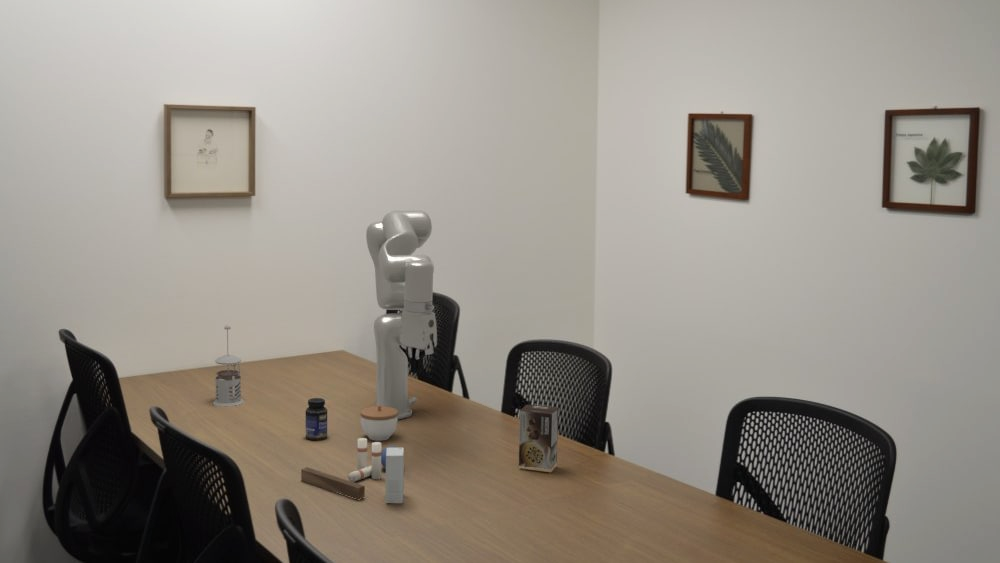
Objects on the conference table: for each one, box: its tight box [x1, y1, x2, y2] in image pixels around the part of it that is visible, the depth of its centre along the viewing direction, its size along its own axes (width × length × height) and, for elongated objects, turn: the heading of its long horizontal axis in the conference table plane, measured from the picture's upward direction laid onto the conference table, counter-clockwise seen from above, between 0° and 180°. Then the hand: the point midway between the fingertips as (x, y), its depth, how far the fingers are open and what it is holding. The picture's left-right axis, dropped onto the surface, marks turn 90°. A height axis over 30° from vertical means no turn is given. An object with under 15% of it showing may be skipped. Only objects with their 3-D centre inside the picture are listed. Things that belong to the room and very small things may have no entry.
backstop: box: [300, 466, 366, 500], centre depth 235 cm, size 2×20×3 cm, turn 53°
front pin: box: [348, 464, 372, 483], centre depth 243 cm, size 2×2×9 cm
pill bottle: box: [305, 397, 328, 441], centre depth 274 cm, size 6×6×11 cm
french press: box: [212, 325, 245, 407], centre depth 306 cm, size 10×12×25 cm
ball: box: [381, 446, 398, 469], centre depth 250 cm, size 6×6×6 cm
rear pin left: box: [371, 441, 383, 480], centre depth 243 cm, size 2×2×9 cm
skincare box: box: [385, 447, 405, 504], centre depth 229 cm, size 6×4×12 cm
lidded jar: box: [359, 405, 399, 442], centre depth 276 cm, size 11×11×9 cm
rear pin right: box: [356, 437, 368, 470], centre depth 246 cm, size 2×2×9 cm
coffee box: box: [518, 404, 559, 469], centre depth 253 cm, size 9×6×16 cm
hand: (416, 371), depth 263 cm, fingers closed
